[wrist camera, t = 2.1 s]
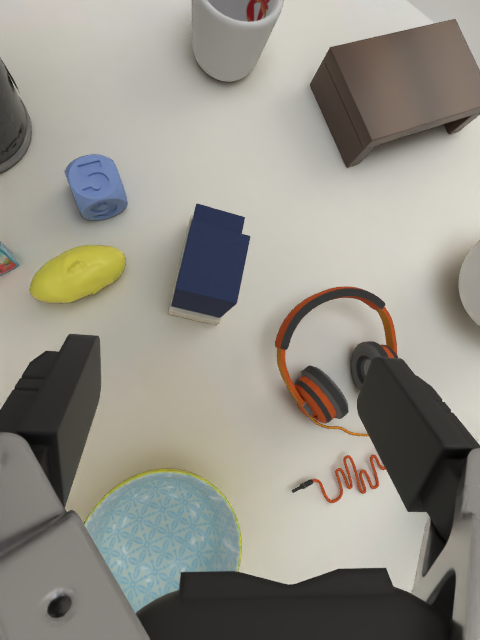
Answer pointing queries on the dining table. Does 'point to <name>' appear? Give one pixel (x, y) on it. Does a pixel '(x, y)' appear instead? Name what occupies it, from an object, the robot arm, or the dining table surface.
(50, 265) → the lemon
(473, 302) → the decorative ball
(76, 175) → the decorative dice
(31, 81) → the dining table surface
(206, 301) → the navy blue block
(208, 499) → the bowl
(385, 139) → the brown platform
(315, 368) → the headphones
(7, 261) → the blue rectangular panel
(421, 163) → the dining table surface
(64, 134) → the dining table surface
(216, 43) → the cup
